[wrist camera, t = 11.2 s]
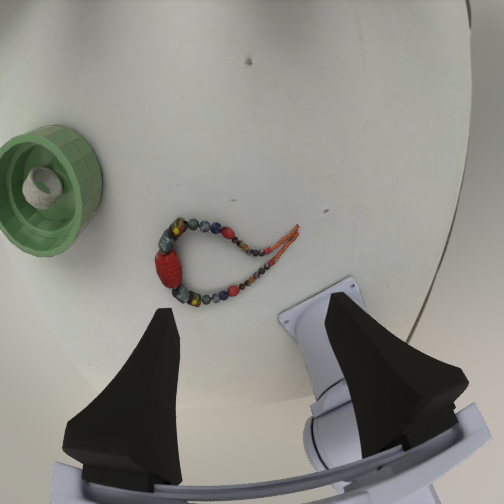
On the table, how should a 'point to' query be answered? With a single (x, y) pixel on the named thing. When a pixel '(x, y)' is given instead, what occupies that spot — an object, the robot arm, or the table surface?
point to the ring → (37, 195)
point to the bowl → (67, 205)
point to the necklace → (171, 265)
